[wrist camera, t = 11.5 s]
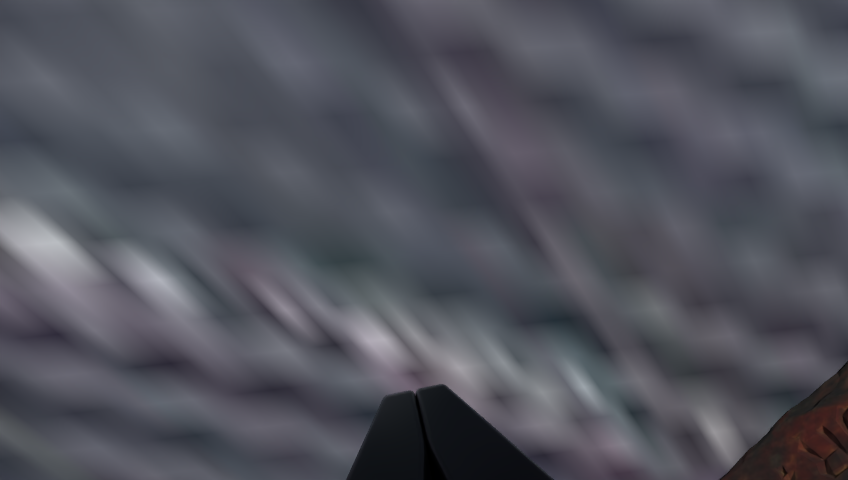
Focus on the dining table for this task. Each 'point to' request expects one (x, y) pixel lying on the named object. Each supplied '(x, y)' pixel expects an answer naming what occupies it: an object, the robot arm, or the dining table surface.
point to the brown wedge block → (804, 440)
